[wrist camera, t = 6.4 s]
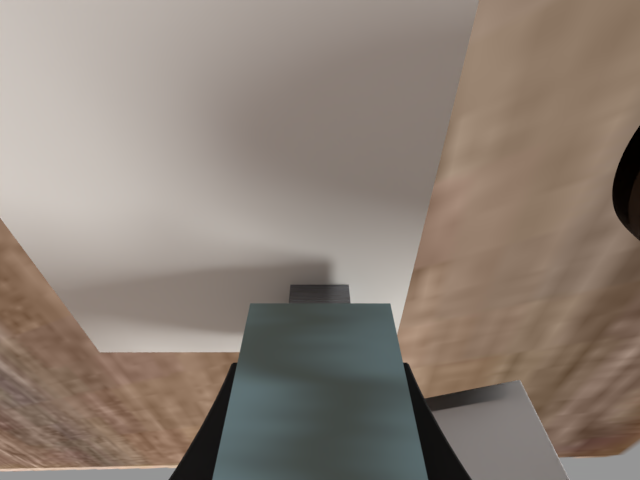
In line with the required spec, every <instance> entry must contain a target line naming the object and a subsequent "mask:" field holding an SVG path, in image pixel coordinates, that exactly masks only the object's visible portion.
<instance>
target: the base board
mask: <svg viewBox="0 0 640 480" xmlns="http://www.w3.org/2000/svg"><path fill="white" fill-rule="evenodd" d="M478 3H479V0H0V218H1V220H2V221H3V222H4V224H5V225H6V226H7V228H8V229H9V230H10V232H11V233H12V234H13V236H14V237H15V239H16V240H17V241H18V243H19V244H20V245H21V247H22V248H23V249H24V251H25V252H26V253H27V255H28V256H29V257H30V259H31V260H32V261H33V263H34V264H35V266H36V267H37V268H38V270H39V271H40V272H41V274H42V275H43V276H44V278H45V279H46V280H47V282H48V283H49V284H50V286H51V287H52V288H53V290H54V291H55V293H56V294H57V295H58V297H59V298H60V299H61V301H62V302H63V303H64V305H65V306H66V307H67V309H68V310H69V311H70V313H71V314H72V315H73V317H74V318H75V320H76V321H77V322H78V324H79V325H80V326H81V328H82V329H83V330H84V332H85V333H86V334H87V336H88V337H89V338H90V340H91V341H92V343H93V344H94V345H95V347H96V348H97V349H98V351H99V352H240V348H241V344H242V339H243V334H244V330H245V325H246V320H247V316H248V311H249V306H250V303H289V294H290V285H349V292H350V302H351V303H390V304H391V309H392V314H393V318H394V323H395V328H396V332H397V333H398V329H399V325H400V321H401V317H402V313H403V309H404V305H405V301H406V297H407V293H408V288H409V284H410V280H411V276H412V272H413V268H414V264H415V260H416V256H417V252H418V248H419V244H420V239H421V235H422V231H423V227H424V223H425V219H426V215H427V211H428V207H429V203H430V199H431V195H432V190H433V186H434V182H435V178H436V174H437V170H438V166H439V162H440V158H441V154H442V150H443V146H444V141H445V137H446V133H447V129H448V125H449V121H450V117H451V113H452V109H453V105H454V101H455V97H456V92H457V88H458V84H459V80H460V76H461V72H462V68H463V64H464V60H465V56H466V52H467V48H468V43H469V39H470V35H471V31H472V27H473V23H474V19H475V15H476V11H477V7H478Z"/></svg>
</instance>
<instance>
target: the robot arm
mask: <svg viewBox="0 0 640 480" xmlns="http://www.w3.org/2000/svg"><path fill="white" fill-rule="evenodd" d="M403 365H404V370H405V374H406V379H407V384H408V388H409V393H410V398H411V402H412V407H413V412H414V416H415V421H416V426H417V430H418V435H419V440H420V444H421V449H422V454H423V458H424V463H425V468H426V472H427V477H428V480H472V479H471V477H470V476H469V474H468V473H467V471H466V470H465V468H464V467H463V465H462V464H461V462H460V460H459V459H458V457H457V456H456V454H455V452H454V451H453V449H452V447H451V446H450V444H449V442H448V441H447V439H446V437H445V436H444V434H443V432H442V430H441V429H440V427H439V425H438V423H437V421H436V419H435V418H434V416H433V414H432V412H431V410H430V408H429V406H428V404H427V402H426V400H425V398H424V396H423V394H422V392H421V390H420V388H419V386H418V384H417V382H416V380H415V377H414V375H413V373H412V370H411V368H410V365H409V364H408V363H403ZM236 367H237V363H232V364H231V366H230V369H229V371H228V373H227V376H226V378H225V380H224V383H223V385H222V387H221V389H220V391H219V393H218V395H217V397H216V399H215V401H214V403H213V405H212V407H211V409H210V411H209V413H208V414H207V416H206V418H205V420H204V422H203V424H202V426H201V427H200V429H199V431H198V433H197V434H196V436H195V438H194V439H193V441H192V443H191V445H190V446H189V448H188V450H187V451H186V453H185V455H184V456H183V458H182V459H181V461H180V463H179V464H178V466H177V467H176V469H175V470H174V472H173V474H172V475H171V477H170V478H169V480H212V479H213V474H214V469H215V465H216V460H217V455H218V451H219V446H220V442H221V437H222V432H223V428H224V423H225V418H226V414H227V409H228V404H229V400H230V395H231V390H232V386H233V381H234V376H235V372H236Z"/></svg>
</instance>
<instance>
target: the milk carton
mask: <svg viewBox="0 0 640 480" xmlns="http://www.w3.org/2000/svg"><path fill="white" fill-rule="evenodd" d="M425 400H426V402H427V404H428V406H429V408H430V410H431V412H432V414H433V416H434V418H435V419H436V421H437V423H438V425H439V427H440V429H441V430H442V432H443V434H444V436H445V437H446V439H447V441H448V442H449V444H450V446H451V447H452V449H453V451H454V452H455V454H456V456H457V457H458V459H459V460H460V462H461V464H462V465H463V467H464V468H465V470H466V471H467V473H468V474H469V476H470V477H471V479H472V480H570V479H569V477H568V475H567V473H566V471H565V469H564V467H563V465H562V463H561V461H560V459H559V457H558V455H557V453H556V451H555V449H554V447H553V445H552V443H551V441H550V439H549V437H548V435H547V433H546V431H545V429H544V427H543V425H542V423H541V421H540V419H539V417H538V415H537V413H536V411H535V409H534V407H533V405H532V403H531V401H530V399H529V397H528V395H527V393H526V391H525V389H524V387H523V385H522V383H521V381H520V380H516V381H511V382H506V383H501V384H496V385H490V386H485V387H480V388H475V389H470V390H465V391H460V392H455V393H450V394H444V395H439V396H434V397H429V398H425Z"/></svg>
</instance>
